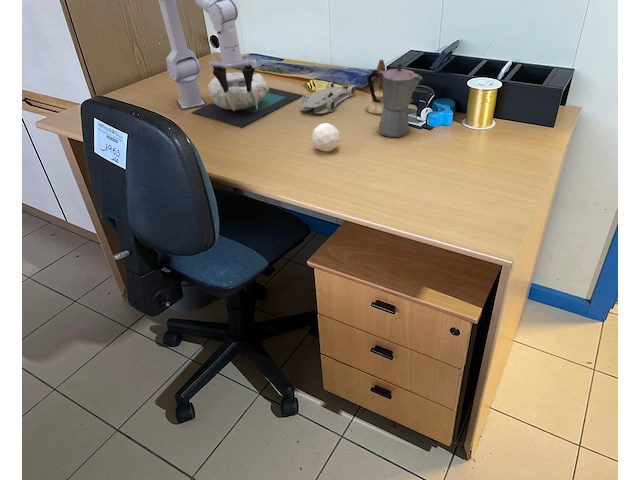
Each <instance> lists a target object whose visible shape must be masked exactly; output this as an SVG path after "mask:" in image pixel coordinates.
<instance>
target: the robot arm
mask: <svg viewBox="0 0 640 480" xmlns="http://www.w3.org/2000/svg"><path fill="white" fill-rule="evenodd" d="M194 2H195V4H196V5H197V6H199V7H200V8H201V9H202V10H203V11H205V12H206V13H207V14H208V17H209V19H210V21H211V23H212V25H213V29H214V31H215V32H216V35H217V40H218V45H219V46H218V47H219V50H220V55H221V59H217V60H211V61H209V62H208V64H209V65H208V66H209V69H210V70H213V71H212V74H213V76H214V78H215V77H216V78H217V79H218V81H219V82H220V84H221V86H222V88H223V90H224V92H225V93H226V92H228V91H229V88H228V83H227V77H226V73H227V69H239V68H240V69H241V68H243V69H242V70H241V73H243V75H244V78H245V82H246V89H247V92H250V91H251V90H252V77H253V74H255V69H256V68H257V67H258V64H257V59H252V58H251V59H250V58H242V52H241V48H240V43H239V37H238V30H237V26H236V21H237V19H238V16H239V11H238V8H237V5H236V3H235V2H234V1H233V0H194ZM158 4H159V7H160V11H161V15H162V19H163V22H164V26H165V31H166V34H167V37H168V41H169V46H170V48H171V51H170V53H169V54H168V55H167V56H166V59H165V60H166V69H167V74H168V76H169V78H170V79H171V80H172V81H173V82H175V84H176V89H177V92H178V95H179V96H178V97H179V98H178V99H177V102H178V103H179V105H180V108H181V109H182V110H185V109H191V108H196V107H200V106H206V105H205V104H206V103H205V102H204V100H203V99H202V96H201V92H200V88H199V81H198V78H199V74H200V72H201V65H200V62H199V61H198V59H197V56H196V53H195V52H194V51H193V50H190V49H189V48H188V46H187V40H186V37H185V33H184V28H183V25H182V21H181V17H180V13H179V9H178V4H177V1H176V0H158Z"/></svg>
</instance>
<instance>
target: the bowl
mask: <svg viewBox="0 0 640 480" xmlns="http://www.w3.org/2000/svg"><path fill="white" fill-rule="evenodd" d="M226 77H227V83H228V88H229V91H228V92H226V93H225V92H224V90H223V88H222V86H221V84H220V82H219V81H218V79H217V78H216V77H215V76H214V77H213V79H211V81H210V82H209V83H208V86H207V87H206V90H207V93H208V95H209V98H210V100H211V101H210V102H211V103H212V104H216V105H218V106H220V107H222V108H224V109H230V110H233V111H235V110H239V109H245V108H248V107H251V106H253V105H255V106H256V108H257V109H258V105H257V103H259V102H260V101H262V100H263V98H264V96H265V94H266V92H267V94H268V92H269V88H270V87H269V86H268V81H266V80H265V77H264V76H263V74H261V73H253V77H252V90H251V91H250V92H247V89H246V82H245V78H244V75H243V73H242V72H226Z"/></svg>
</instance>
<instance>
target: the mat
mask: <svg viewBox="0 0 640 480" xmlns="http://www.w3.org/2000/svg"><path fill="white" fill-rule="evenodd" d="M303 97H304V95H303V94H301V93H295V92H291V91H287V90H282V89H278V88H277V89H276V88H273V87H269V92H268V94H267V92H266V94H265V96H264V98H263V100H262V101H260V102H259V103H257V105H258V109H257V108H256V106H255V105H253V106H251V107H248V108H245V109H239V110H235V111H233V110H230V109H224V108H222V107H220V106H218V105H216V104H212V102H210V103H209V104H207V105H203V106H202V107H200V108H198V109H196V110H194V111H192V112H191V113H192V114H195V115H198V116H201V117H205V118H208V119H211V120H215V121H217V122H222V123H225V124H229V125H232V126H235V127H240V128H244V127H247V126H248V125H250V124H252V123H254V122H256V121H258V120H259V119H261V118H264V117H265V116H267V115H270V114H272V113H273V112H275V111H278V110H279V109H281V108H282V107H285V106H286V105H288V104H290V103H292V102H294V101H296V100H298V99H300V98H303Z"/></svg>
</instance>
